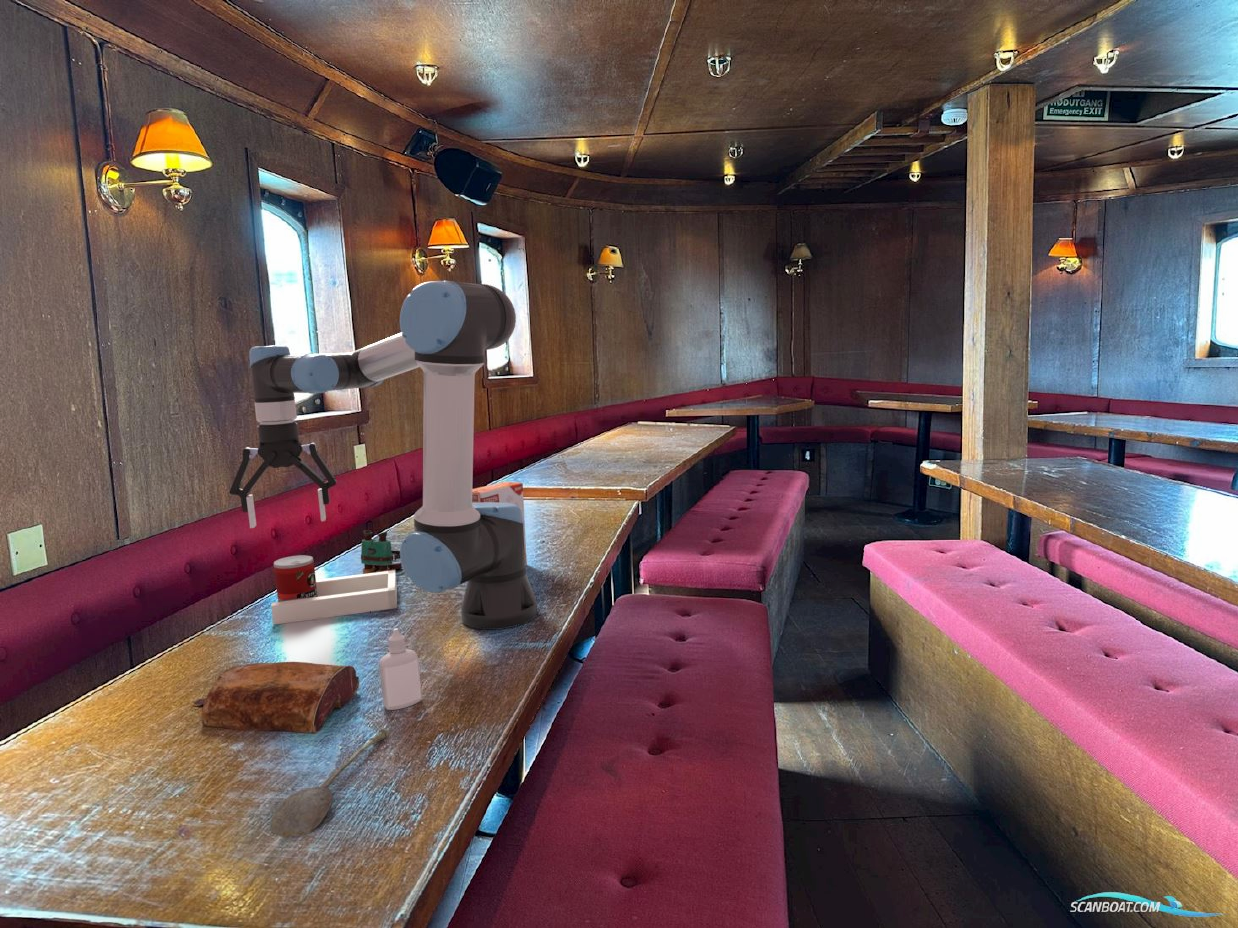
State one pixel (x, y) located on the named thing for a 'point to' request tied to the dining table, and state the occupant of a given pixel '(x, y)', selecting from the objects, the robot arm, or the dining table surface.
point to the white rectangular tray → (340, 598)
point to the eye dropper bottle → (400, 674)
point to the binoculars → (378, 554)
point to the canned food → (295, 577)
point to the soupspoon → (311, 801)
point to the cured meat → (278, 696)
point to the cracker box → (502, 496)
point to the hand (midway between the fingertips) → (288, 523)
